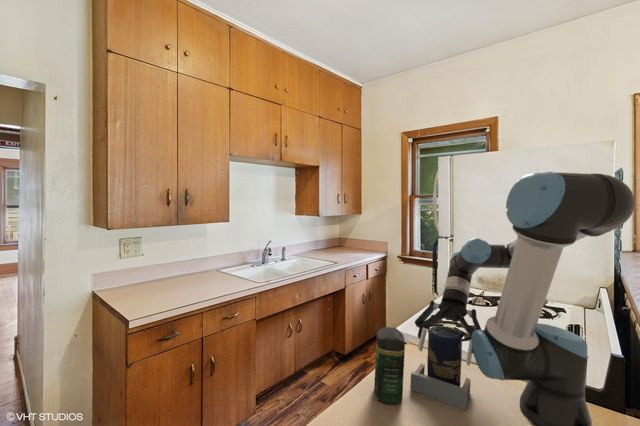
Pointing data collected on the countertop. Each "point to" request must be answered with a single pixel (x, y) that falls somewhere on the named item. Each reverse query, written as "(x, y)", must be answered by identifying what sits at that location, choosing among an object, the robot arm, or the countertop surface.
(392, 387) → the coffee jar
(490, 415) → the countertop surface
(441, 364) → the canister
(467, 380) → the bracket
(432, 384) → the backstop wall
